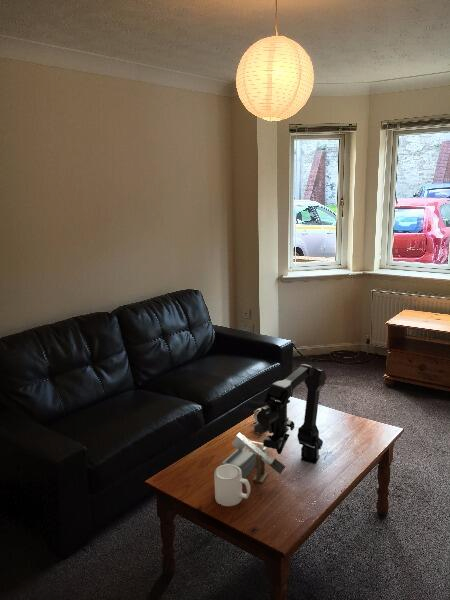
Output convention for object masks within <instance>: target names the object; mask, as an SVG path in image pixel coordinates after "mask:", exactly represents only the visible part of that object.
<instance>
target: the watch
mask: <svg viewBox="0 0 450 600" xmlns="http://www.w3.org/2000/svg"><path fill="white" fill-rule="evenodd" d="M261 408H262V407H260V408H259V407H258V408H257V409H255V410H254V411H253V419H254V420H255V423H256V424H254V426H253V431H254V432H255V433H257V434H260V435H262V434H264V433H266V432H267V431H265V432H262V433H260V432H258V430H256V429H257V424H258V421H257V414H258V412H260V411H261Z"/></svg>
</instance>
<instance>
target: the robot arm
mask: <svg viewBox="0 0 450 600" xmlns="http://www.w3.org/2000/svg"><path fill="white" fill-rule="evenodd" d="M326 380H327V373H326V372H325V370H323V369H318V368H315V367H313V366H312V365H311V364H306V363H301V364H300V365H299V366H298V368H297V369H296V370H294V371H293V372H291V374H290V375H288V376H287V377H286V378H285V379H283V380H277V381H275V382H272V384H271V385H270V386H269V388H268V390H267V393H266V395H265V398H264V400H263V403H264V404H265V405H264V406H262V407H260V408H261V411H257V421H258V424H257V423H256V424H257V429H256V430H258V432H260V433H262V432H264V433H266V432H268V433H269V435H267V436H266V437H265V438H264V439H263V441H262V443H263V446H264V447H268V449H269V448H270V449H273V450H276V453H277V455H281V454H282V452H283V449H284V448H285V446H286V443H287V441H288V440H289V437H290V434H288V432H289V429H290V431H293V430H294V429H295V422H294V421H293V420H290V418H289V417H288V404H289V403H291V400H290V398H291V397H292V395H293V391H294V389H295V388H297V387H298V386H299V385H300V384H301V383H302V382H304V384H305V386H306V389H307V392H306V403H305V410H304V411H305V412H304V417H303V418H304V419H303V424H301V426H299V427H298V428H297V429H298V430H297V434H296V435H297V436H296V437H297V441H298V443H299V445H301V446H302V447H301V448H300V449H301V450H300V453H301V454H300V455H301V457H300V458H301V459H300V460H301V461H302V462H307V463H312V464H317V462H318V461H319V459H320V452H319V451H320V450H321V449H322V447H323V445H324V444H323V442H324V440H322V439H321V438H320V431H319V429H318V426H317V416H318V410H319V399H320V391H321V390H322V388H324V386H325V383H326ZM265 431H266V432H265ZM260 433H259V434H260ZM270 434H272V435H270Z"/></svg>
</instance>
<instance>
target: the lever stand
mask: <svg viewBox="0 0 450 600" xmlns="http://www.w3.org/2000/svg"><path fill="white" fill-rule="evenodd" d="M261 450H262V451H263V452H264V453H265V450H264V449H261ZM265 467H266V463H265V462H264V461H263V460H261V456H260V455H259V454H256V466H255V470H256V471H255V473H256V474H255V475H254V477H253V478H252V482H256V483H260V484H264V482H265V480H266V478H267V477H268V476H269V472H266V470H265V469H266V468H265Z"/></svg>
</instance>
